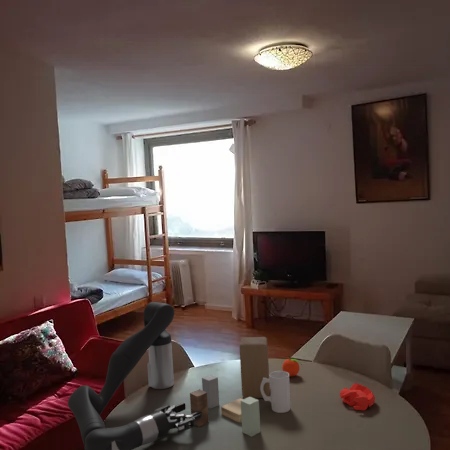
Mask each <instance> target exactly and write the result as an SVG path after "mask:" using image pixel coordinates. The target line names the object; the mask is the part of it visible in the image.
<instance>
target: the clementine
mask: <svg viewBox="0 0 450 450" xmlns="http://www.w3.org/2000/svg"><path fill="white" fill-rule="evenodd" d="M299 363H300V361H299V360H298V359H295V358H287V359H285V360H284V361H283V363H282V367H281V368H282V371H285V372H288V373H289V378H290V377H295V376H296V375H298V374H299V371H300V364H301V365H302V363H300V364H299ZM302 366H303V365H302Z"/></svg>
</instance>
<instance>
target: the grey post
mask: <svg viewBox="0 0 450 450" xmlns="http://www.w3.org/2000/svg"><path fill="white" fill-rule="evenodd" d="M201 384H202V385H201V386H202V391H204V392H207V401H208V409H210V410H212V409H213V408H215V407H218V406H220V395H219V394H220V391H219V377H218V376H215V375H213V374H209V375H206V376H203V377H201Z"/></svg>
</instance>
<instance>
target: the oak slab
mask: <svg viewBox="0 0 450 450" xmlns="http://www.w3.org/2000/svg"><path fill="white" fill-rule="evenodd" d="M243 399H244V398H241V397H240V398H237V399H235V400H233V401H231V402H229V403H226V404H224V405H222V406H221V407H220V408H221V409H220V410H221V415H222V416H225V417H227V418H229V419H230V420H232V421H235V422H237V423H240V424H241V423H242V418H241V400H243Z"/></svg>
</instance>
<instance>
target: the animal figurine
mask: <svg viewBox="0 0 450 450" xmlns="http://www.w3.org/2000/svg"><path fill="white" fill-rule="evenodd" d="M339 397H340V399H342V403H345V404H347V405H348V406H350V407H353V409H354V410H356V411H357V410H358V411H366V410H367V409H368V407H369V408H371V407H372V406H373V405H374V404H375V401H376V396H375V395H374V393H373V392H372V390H371V389H369V387H367V386H365V385H362V384H360V383H357V382H355V383H353V384H352V385H351V386H350V388H349V389H348V387H343V389H341V390H340V392H339Z"/></svg>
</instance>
